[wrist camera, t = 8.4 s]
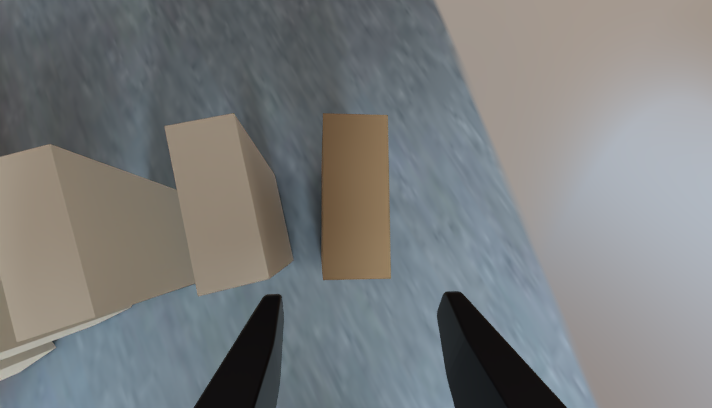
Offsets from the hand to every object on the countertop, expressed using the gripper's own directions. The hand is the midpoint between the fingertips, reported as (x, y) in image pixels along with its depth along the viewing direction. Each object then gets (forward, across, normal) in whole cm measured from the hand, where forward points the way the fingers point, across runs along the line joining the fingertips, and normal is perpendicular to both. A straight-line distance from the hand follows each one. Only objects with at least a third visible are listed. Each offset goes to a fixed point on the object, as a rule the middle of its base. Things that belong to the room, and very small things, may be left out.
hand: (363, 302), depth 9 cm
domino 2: (+10, +4, +6) cm, 12 cm away
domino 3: (+10, 0, +6) cm, 12 cm away
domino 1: (+9, +9, +7) cm, 14 cm away
